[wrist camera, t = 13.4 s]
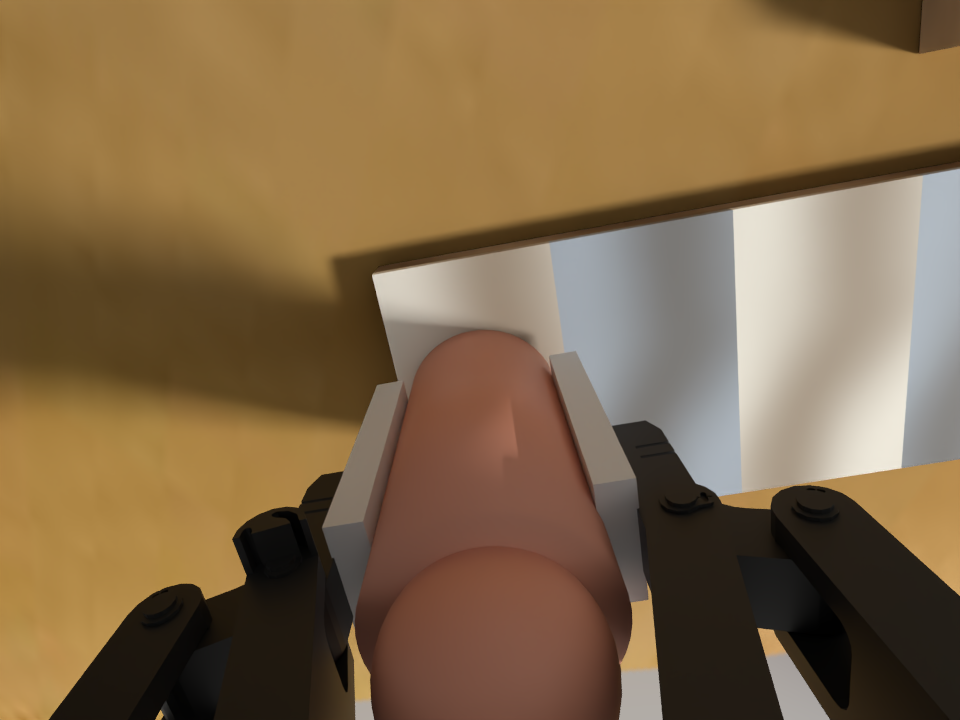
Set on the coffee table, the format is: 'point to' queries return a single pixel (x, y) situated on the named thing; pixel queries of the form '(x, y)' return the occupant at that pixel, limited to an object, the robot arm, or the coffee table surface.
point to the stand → (939, 25)
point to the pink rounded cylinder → (490, 552)
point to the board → (735, 324)
